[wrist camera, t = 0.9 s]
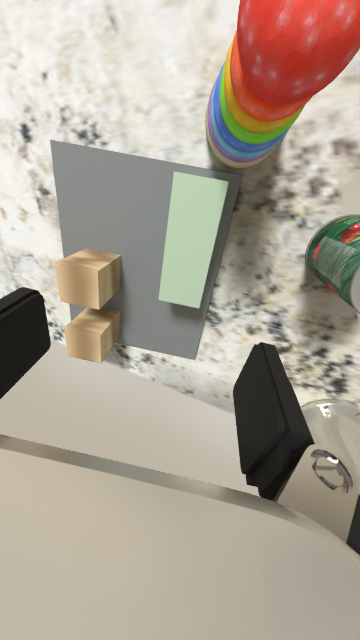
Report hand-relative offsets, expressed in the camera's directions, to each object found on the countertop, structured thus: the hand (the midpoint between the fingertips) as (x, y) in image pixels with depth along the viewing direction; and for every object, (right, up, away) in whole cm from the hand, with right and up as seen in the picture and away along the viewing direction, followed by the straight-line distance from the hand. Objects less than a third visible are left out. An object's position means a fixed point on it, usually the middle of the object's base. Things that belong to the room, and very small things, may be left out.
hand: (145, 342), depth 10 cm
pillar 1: (-10, +8, +22) cm, 26 cm away
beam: (+3, +11, +18) cm, 22 cm away
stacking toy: (+8, +21, +13) cm, 26 cm away
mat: (-5, +8, +22) cm, 24 cm away
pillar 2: (-11, +1, +27) cm, 29 cm away
